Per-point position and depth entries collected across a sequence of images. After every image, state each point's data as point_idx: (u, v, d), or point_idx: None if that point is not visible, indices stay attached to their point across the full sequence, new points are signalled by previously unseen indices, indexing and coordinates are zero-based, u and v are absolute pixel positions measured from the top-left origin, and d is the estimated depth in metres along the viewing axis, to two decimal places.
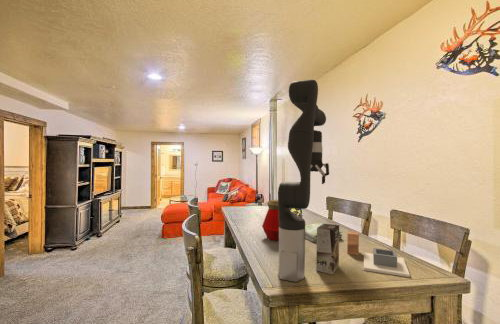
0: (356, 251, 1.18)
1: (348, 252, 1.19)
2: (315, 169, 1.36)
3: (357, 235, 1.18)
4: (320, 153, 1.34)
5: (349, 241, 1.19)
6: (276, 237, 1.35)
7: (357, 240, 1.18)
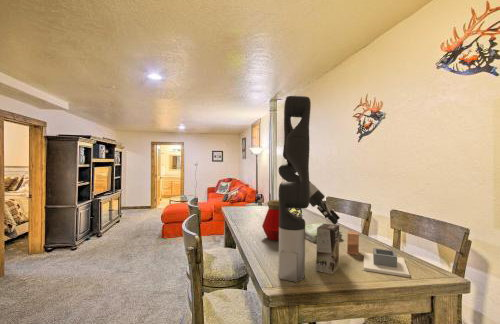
0: (356, 251, 1.18)
1: (348, 252, 1.19)
2: (327, 207, 1.25)
3: (357, 235, 1.18)
4: None
5: (349, 241, 1.19)
6: (276, 237, 1.35)
7: (357, 240, 1.18)
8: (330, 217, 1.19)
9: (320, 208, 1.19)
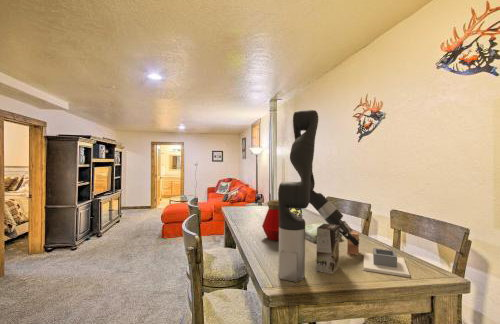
0: (356, 251, 1.18)
1: (348, 252, 1.19)
2: None
3: (357, 235, 1.18)
4: None
5: (349, 241, 1.19)
6: (276, 237, 1.35)
7: (357, 240, 1.18)
8: (351, 238, 1.17)
9: (341, 231, 1.16)
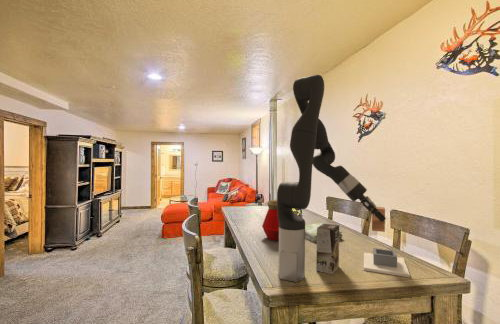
0: (382, 227, 1.06)
1: (373, 229, 1.08)
2: (369, 201, 1.10)
3: (383, 210, 1.06)
4: None
5: (374, 217, 1.08)
6: (276, 237, 1.35)
7: (384, 215, 1.06)
8: (377, 213, 1.06)
9: (367, 204, 1.05)
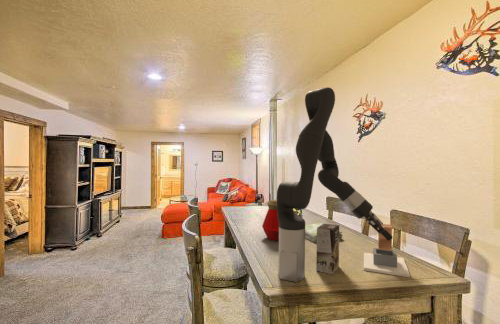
0: (389, 246, 1.04)
1: (380, 247, 1.05)
2: None
3: (390, 228, 1.04)
4: None
5: (380, 235, 1.05)
6: (276, 237, 1.35)
7: (390, 233, 1.04)
8: (384, 232, 1.04)
9: (373, 223, 1.02)
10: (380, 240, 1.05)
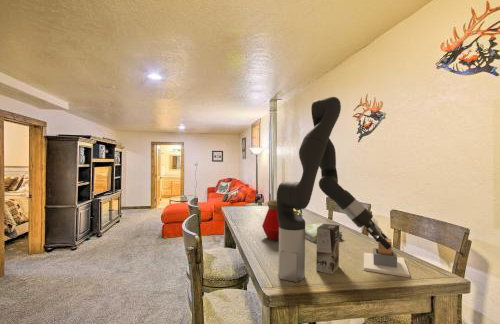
0: None
1: None
2: (376, 228, 1.08)
3: (390, 243, 1.04)
4: None
5: (380, 249, 1.05)
6: (276, 237, 1.35)
7: (390, 248, 1.04)
8: (382, 241, 1.02)
9: (370, 230, 1.02)
10: None
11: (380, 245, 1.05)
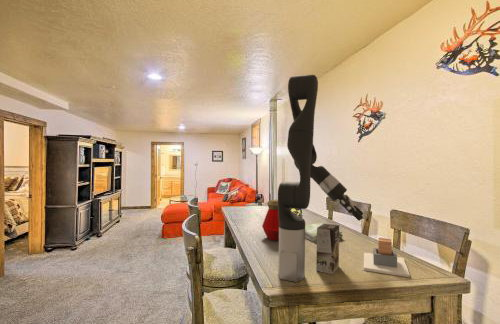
0: None
1: None
2: None
3: (390, 243, 1.04)
4: None
5: (380, 249, 1.05)
6: (276, 237, 1.35)
7: (390, 248, 1.04)
8: (354, 212, 1.06)
9: (343, 202, 1.06)
10: None
11: (380, 245, 1.05)
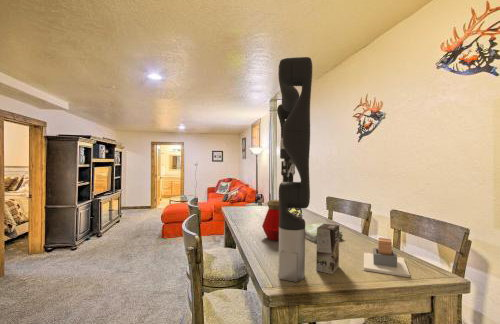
0: None
1: None
2: (291, 168, 1.21)
3: (390, 243, 1.04)
4: None
5: (380, 249, 1.05)
6: (276, 237, 1.35)
7: (390, 248, 1.04)
8: (285, 177, 1.16)
9: (283, 164, 1.15)
10: None
11: (380, 245, 1.05)
